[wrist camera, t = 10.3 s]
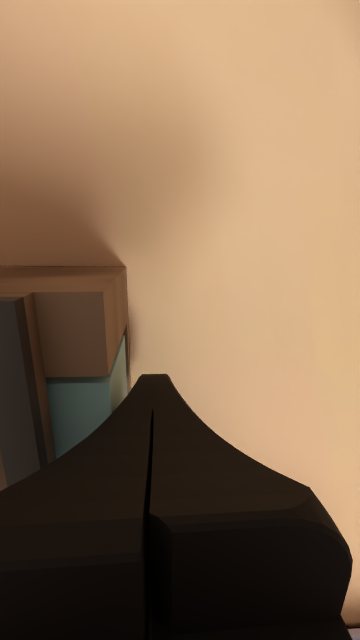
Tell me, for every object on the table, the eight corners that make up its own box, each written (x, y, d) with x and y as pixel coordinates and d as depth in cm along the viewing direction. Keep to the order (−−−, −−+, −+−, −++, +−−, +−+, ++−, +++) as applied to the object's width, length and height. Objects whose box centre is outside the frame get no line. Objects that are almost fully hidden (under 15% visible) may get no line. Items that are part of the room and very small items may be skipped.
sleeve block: (126, 267, 11) (94, 301, 5) (138, 571, 16) (127, 751, 10) (-95, 265, 10) (-380, 301, 5) (-11, 582, 15) (-106, 779, 10)
